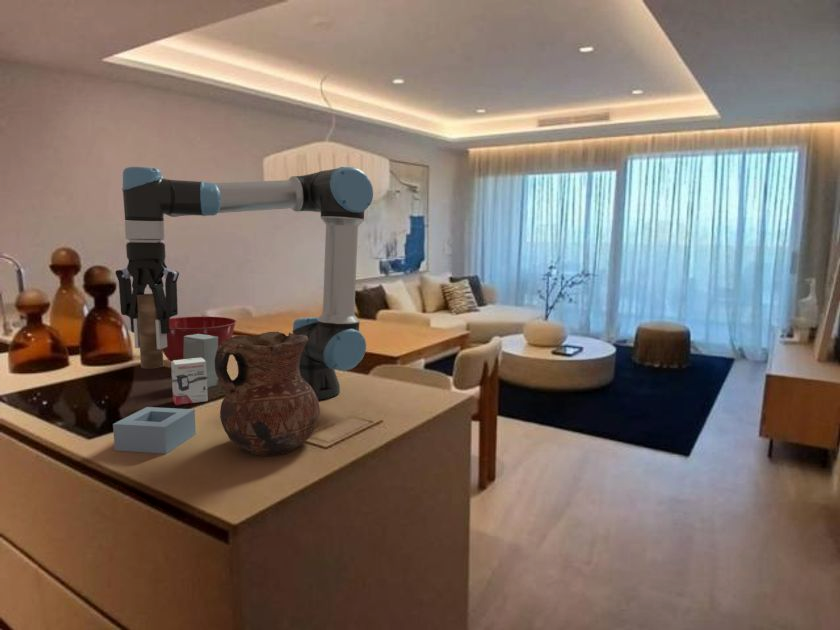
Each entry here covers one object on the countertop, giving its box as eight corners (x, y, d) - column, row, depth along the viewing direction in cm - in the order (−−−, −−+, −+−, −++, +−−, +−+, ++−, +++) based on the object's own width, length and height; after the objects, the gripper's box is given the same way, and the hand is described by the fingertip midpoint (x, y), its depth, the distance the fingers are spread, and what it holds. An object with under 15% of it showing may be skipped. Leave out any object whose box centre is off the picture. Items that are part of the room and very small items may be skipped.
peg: (167, 364, 124) (164, 293, 121) (155, 368, 119) (151, 296, 117) (149, 363, 124) (145, 293, 122) (136, 367, 120) (132, 295, 117)
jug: (265, 423, 137) (262, 325, 134) (337, 435, 129) (336, 332, 126) (199, 455, 117) (193, 340, 113) (279, 472, 109) (276, 350, 106)
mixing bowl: (218, 351, 219) (217, 313, 217) (250, 364, 198) (249, 322, 196) (143, 361, 200) (140, 320, 198) (169, 377, 179) (167, 330, 177)
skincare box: (182, 386, 168) (179, 336, 166) (199, 381, 175) (197, 332, 172) (203, 390, 165) (201, 338, 163) (220, 384, 172) (218, 334, 169)
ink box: (175, 405, 150) (173, 364, 148) (172, 401, 154) (170, 360, 152) (208, 401, 154) (206, 360, 153) (204, 396, 159) (202, 357, 157)
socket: (195, 433, 129) (194, 409, 128) (166, 453, 117) (164, 427, 117) (148, 431, 131) (147, 406, 130) (114, 450, 119) (112, 424, 118)
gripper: (193, 242, 120) (197, 345, 124) (119, 240, 123) (125, 342, 126) (173, 242, 113) (178, 352, 116) (95, 240, 115) (103, 349, 118)
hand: (151, 347), depth 121 cm, fingers closed on peg, 4 cm apart
